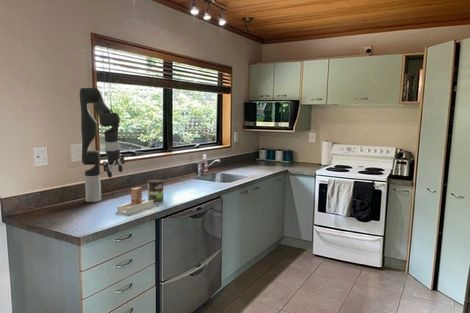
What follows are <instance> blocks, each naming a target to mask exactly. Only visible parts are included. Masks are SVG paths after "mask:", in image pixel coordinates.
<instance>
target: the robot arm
mask: <svg viewBox="0 0 470 313" xmlns="http://www.w3.org/2000/svg"><path fill="white" fill-rule="evenodd" d="M79 102H80V103H79V105H80V114H81V115H80V118H81V121H80V123H81V124H80V125H81V126H80V129H81V140H82V141H81V162H82V164H83V165H84V166H91V165H92V166H93V167H91V168H89V169H86V170H85V171H84V183H85V184H84V186H85V187H84V189H85V202H87V203H96V202H97V203H98V202H100V201H101V200H102V186H101V166H100V165H101V155H100V154H101V152H100V151H99V150H88V149H89V147H90V145H91V144H92V142H93V141H94V140H95V138H96V136H97V135H98V123H99V124H100V125H101V127H103V128H107V127H110V128H108V129H107V130H105V131H104V133H103V134H104V146H105V157H106V158H107V160H103V162H102V163H103V164H102V165H103V172H105V173H106V174H107V177H108V178H110V179H111V178H112V177H113V175H112V169H114V166H116V165H117V168H118V172H119V173H123V165H125V157H124V154H121V148H120V141H119V126H120V121H121V118H120V115H119V114H118V113H117V112H111V109H110V108H109V107H108V106H107V104H106V102H105V101H104V97H103V96H102V93H101V92H100V90H99V88H97V87H81V88H80V89H79ZM88 104H94V112H95V113H96V115H97V116H98V119H99V122H97V120H96V119H95V117H94V115H92V114H91V112H90V111H89V108H88Z"/></svg>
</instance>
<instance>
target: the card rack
mask: <svg viewBox="0 0 470 313" xmlns="http://www.w3.org/2000/svg"><path fill="white" fill-rule="evenodd" d="M155 206H156V205H155V204H153V200H149V201H148V200H147V201H146V198H143V197H142V203H140V204H137V205H134V206H131V201H130V202H127V203H124V204H121V205H118V206H117V207H116V208H117V210H116V211H115V212H116V214H121V215H127V216H131V215H133V214H136V213H140V212H142V211H146V210H148V209H150V208H151V209H152V208H155Z"/></svg>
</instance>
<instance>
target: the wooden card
mask: <svg viewBox="0 0 470 313" xmlns="http://www.w3.org/2000/svg"><path fill="white" fill-rule="evenodd" d="M130 192H131V193H130V198H131V199H130V202H131V206H134V205H137V204H140V203H142V199H143V187H140V186H138V187H137V186H136V187H133V188H131V189H130Z"/></svg>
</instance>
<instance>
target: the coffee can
mask: <svg viewBox="0 0 470 313" xmlns="http://www.w3.org/2000/svg"><path fill="white" fill-rule="evenodd" d="M149 200H153V205H155V204H161V203H164V180H163V179H158V178H157V179H156V178H155V179H148V180H147V201H149Z"/></svg>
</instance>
